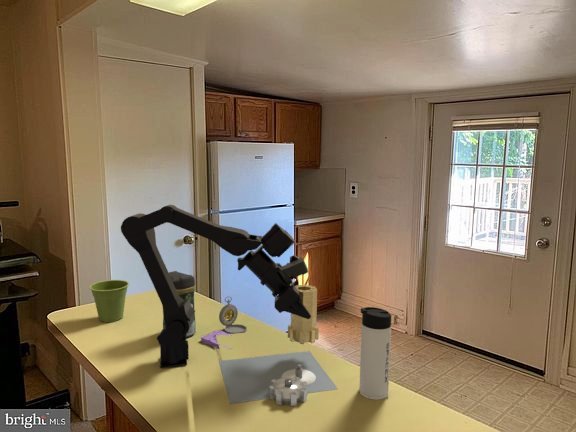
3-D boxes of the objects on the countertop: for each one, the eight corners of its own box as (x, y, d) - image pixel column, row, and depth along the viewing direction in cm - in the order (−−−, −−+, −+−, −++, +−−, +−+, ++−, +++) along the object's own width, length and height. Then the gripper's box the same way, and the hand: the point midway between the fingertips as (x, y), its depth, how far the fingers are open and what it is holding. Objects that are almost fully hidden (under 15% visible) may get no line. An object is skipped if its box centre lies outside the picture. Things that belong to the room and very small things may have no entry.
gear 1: (292, 345, 106) (294, 293, 104) (284, 333, 113) (285, 285, 111) (322, 342, 108) (323, 291, 106) (312, 330, 115) (313, 283, 114)
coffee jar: (158, 333, 128) (156, 272, 126) (180, 326, 135) (179, 267, 132) (178, 342, 122) (177, 278, 120) (200, 334, 129) (199, 273, 126)
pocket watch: (242, 336, 127) (242, 303, 126) (215, 334, 129) (215, 301, 127) (250, 326, 135) (250, 295, 134) (225, 324, 137) (225, 293, 135)
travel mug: (354, 389, 98) (357, 304, 96) (383, 389, 99) (386, 304, 96) (361, 405, 92) (364, 314, 89) (391, 404, 93) (396, 314, 90)
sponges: (218, 335, 129) (218, 329, 129) (249, 347, 121) (249, 340, 121) (200, 343, 124) (200, 336, 123) (230, 355, 116) (230, 349, 116)
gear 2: (274, 408, 88) (274, 393, 88) (265, 388, 96) (265, 374, 95) (312, 403, 90) (312, 387, 90) (300, 383, 98) (301, 369, 98)
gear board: (230, 409, 90) (230, 390, 89) (218, 365, 109) (218, 349, 108) (337, 393, 96) (338, 376, 96) (309, 355, 115) (309, 340, 115)
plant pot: (85, 317, 140) (84, 284, 139) (121, 309, 148) (120, 277, 147) (98, 328, 132) (97, 292, 130) (136, 319, 140) (135, 285, 138)
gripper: (289, 255, 98) (336, 303, 100) (288, 240, 117) (328, 281, 118) (254, 289, 99) (301, 335, 101) (259, 268, 118) (299, 308, 119)
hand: (309, 313), depth 110 cm, fingers closed on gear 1, 6 cm apart
